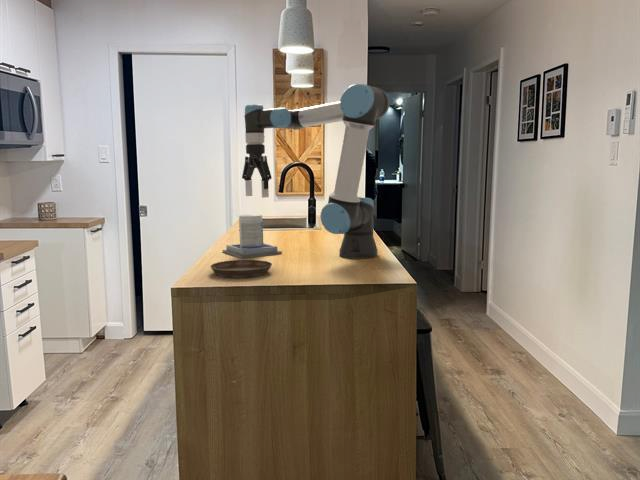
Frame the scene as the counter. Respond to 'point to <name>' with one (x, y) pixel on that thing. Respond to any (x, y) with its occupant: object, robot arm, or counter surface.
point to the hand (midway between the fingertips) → (257, 196)
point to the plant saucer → (241, 268)
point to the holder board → (251, 251)
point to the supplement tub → (251, 231)
